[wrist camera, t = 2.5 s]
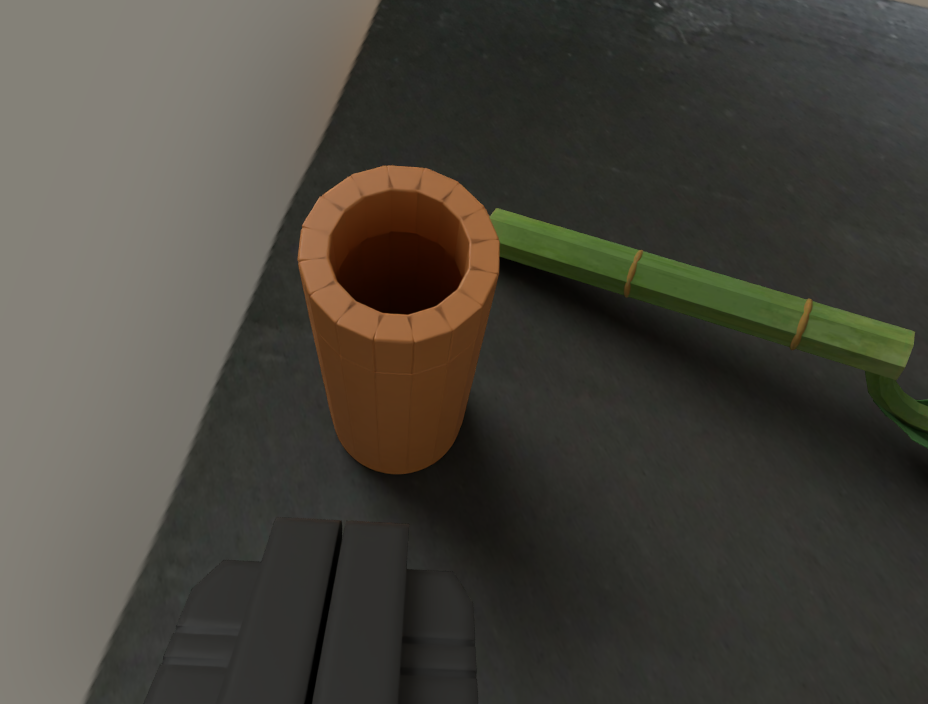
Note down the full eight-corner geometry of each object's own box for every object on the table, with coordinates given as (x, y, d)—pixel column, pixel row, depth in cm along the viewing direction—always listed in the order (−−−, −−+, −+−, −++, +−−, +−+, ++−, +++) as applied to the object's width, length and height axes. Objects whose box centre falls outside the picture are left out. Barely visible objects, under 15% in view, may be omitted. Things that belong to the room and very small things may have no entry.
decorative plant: (521, 150, 42) (1235, 345, 33) (519, 263, 48) (1113, 448, 40) (468, 236, 38) (1243, 475, 30) (475, 344, 45) (1109, 563, 37)
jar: (428, 496, 37) (449, 375, 23) (309, 440, 38) (261, 290, 24) (482, 383, 39) (529, 211, 26) (369, 332, 40) (356, 137, 26)
